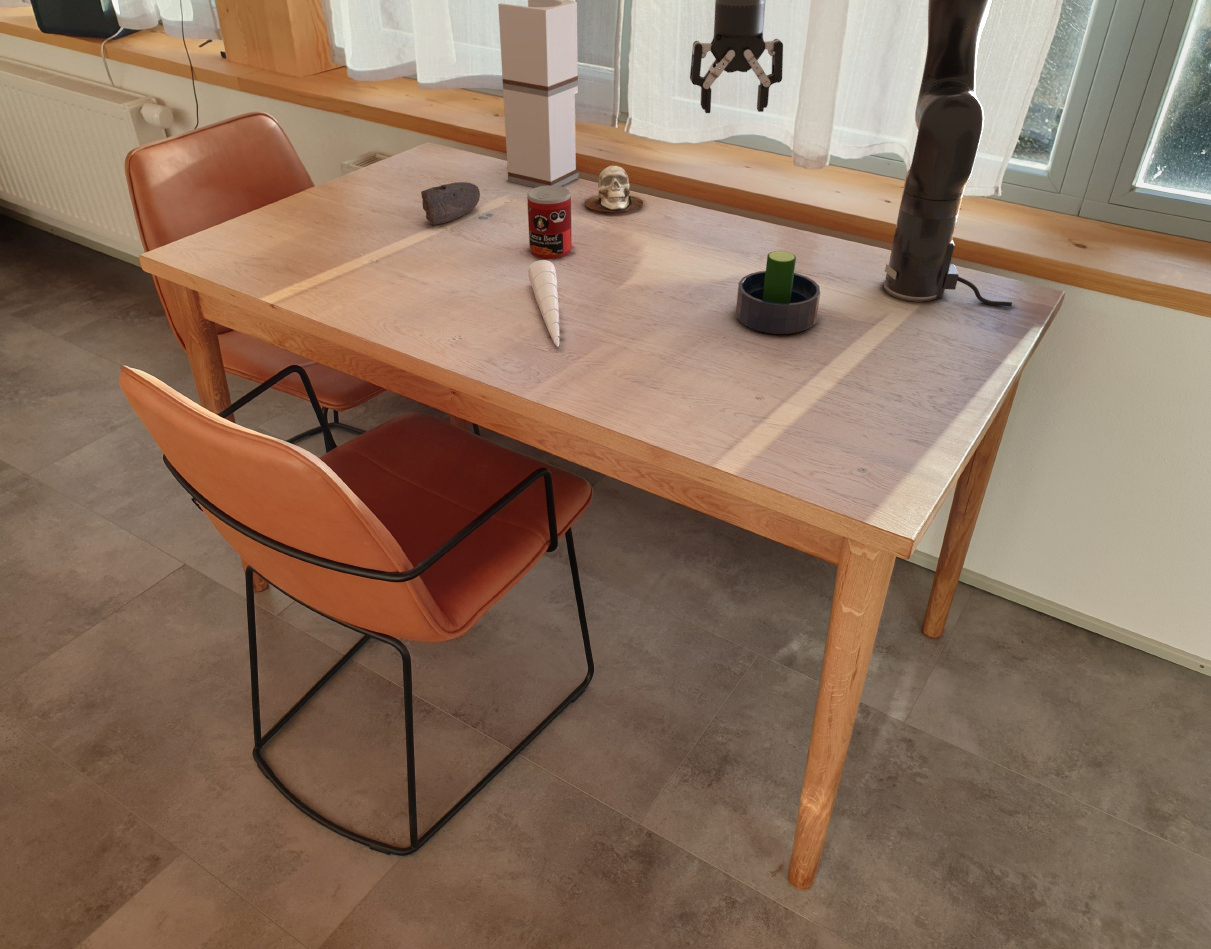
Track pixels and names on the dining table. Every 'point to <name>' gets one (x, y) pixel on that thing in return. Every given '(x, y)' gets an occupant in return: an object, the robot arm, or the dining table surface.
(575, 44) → the striped white pillar
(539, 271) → the unicorn horn
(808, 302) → the bowl
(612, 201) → the skull
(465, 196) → the perforated stone tool
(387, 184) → the dining table surface
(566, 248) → the canned food
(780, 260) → the cucumber
